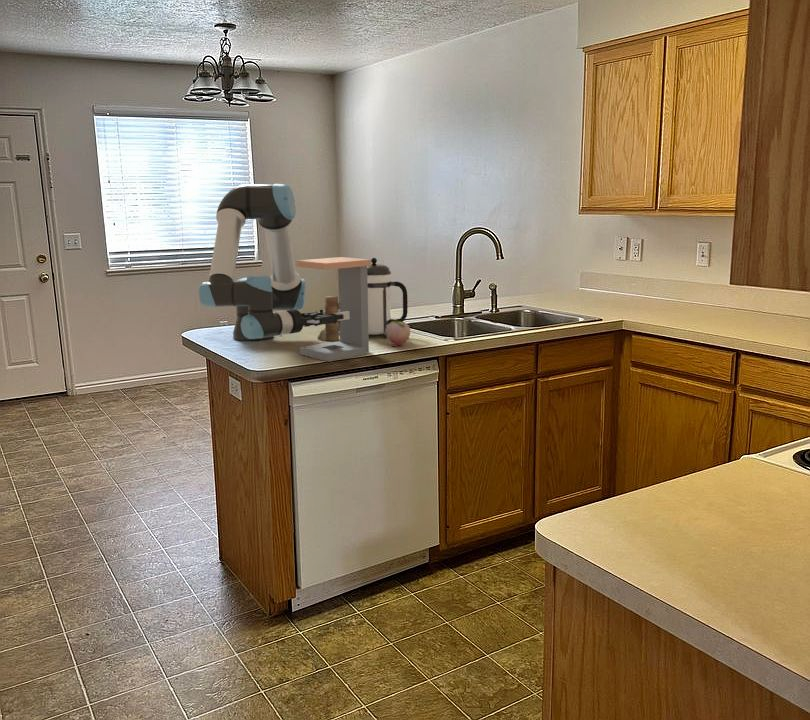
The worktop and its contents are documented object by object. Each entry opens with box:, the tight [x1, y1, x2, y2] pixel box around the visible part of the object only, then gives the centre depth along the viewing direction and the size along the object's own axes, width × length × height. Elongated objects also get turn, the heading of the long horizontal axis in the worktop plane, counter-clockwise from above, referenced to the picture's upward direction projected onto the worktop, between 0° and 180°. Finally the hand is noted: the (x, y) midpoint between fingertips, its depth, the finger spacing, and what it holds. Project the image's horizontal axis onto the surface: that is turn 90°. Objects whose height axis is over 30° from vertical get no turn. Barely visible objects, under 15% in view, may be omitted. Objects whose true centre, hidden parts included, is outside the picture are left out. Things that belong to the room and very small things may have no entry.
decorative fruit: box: [385, 318, 411, 347], centre depth 267 cm, size 9×8×10 cm
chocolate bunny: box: [317, 322, 340, 341], centre depth 280 cm, size 6×8×10 cm
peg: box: [324, 295, 340, 343], centre depth 251 cm, size 4×4×15 cm
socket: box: [295, 256, 372, 362], centre depth 252 cm, size 16×19×32 cm
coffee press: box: [367, 257, 409, 339], centre depth 284 cm, size 17×16×30 cm
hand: (344, 314), depth 255 cm, fingers closed on peg, 4 cm apart
